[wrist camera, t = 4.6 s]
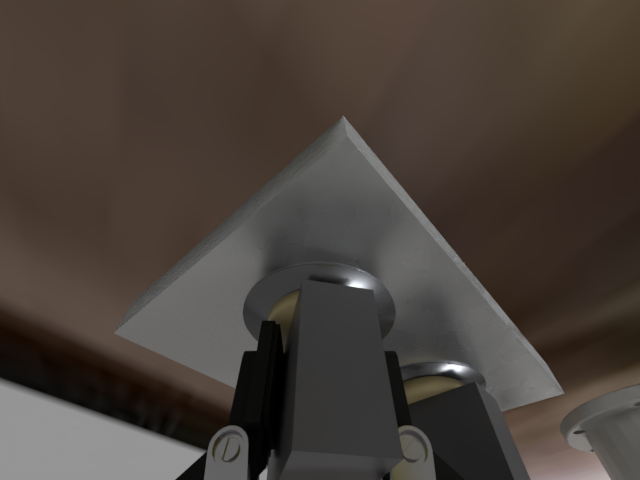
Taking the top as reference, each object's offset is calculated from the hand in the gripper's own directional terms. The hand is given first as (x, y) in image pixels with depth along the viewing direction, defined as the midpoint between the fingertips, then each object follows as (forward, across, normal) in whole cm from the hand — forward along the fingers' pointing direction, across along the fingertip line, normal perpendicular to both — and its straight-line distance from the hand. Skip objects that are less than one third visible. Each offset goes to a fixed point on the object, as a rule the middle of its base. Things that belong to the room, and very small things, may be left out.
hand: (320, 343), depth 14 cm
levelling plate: (+3, -2, +5) cm, 6 cm away
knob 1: (+1, 0, 0) cm, 1 cm away
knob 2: (+1, -7, +8) cm, 10 cm away
